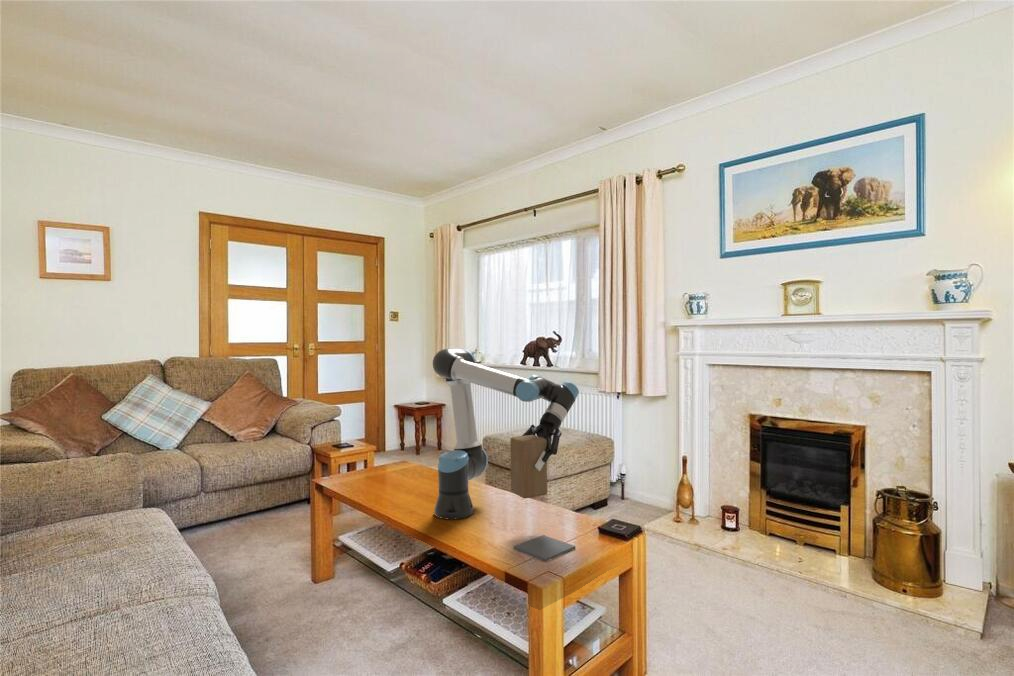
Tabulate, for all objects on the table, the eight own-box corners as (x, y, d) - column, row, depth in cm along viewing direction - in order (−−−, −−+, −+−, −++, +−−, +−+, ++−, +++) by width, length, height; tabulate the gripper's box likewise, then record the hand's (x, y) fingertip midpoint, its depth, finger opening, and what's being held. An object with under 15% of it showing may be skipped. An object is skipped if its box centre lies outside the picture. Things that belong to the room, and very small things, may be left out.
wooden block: (509, 492, 183) (509, 436, 183) (533, 488, 188) (533, 434, 188) (523, 499, 174) (523, 441, 175) (548, 495, 179) (547, 438, 179)
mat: (513, 548, 163) (513, 546, 163) (543, 537, 173) (543, 534, 173) (545, 561, 153) (545, 559, 153) (575, 548, 162) (575, 546, 162)
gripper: (583, 427, 184) (554, 478, 173) (535, 420, 201) (506, 466, 190) (573, 414, 180) (544, 465, 169) (525, 408, 198) (496, 454, 187)
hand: (524, 465), depth 180 cm, fingers closed on wooden block, 12 cm apart
